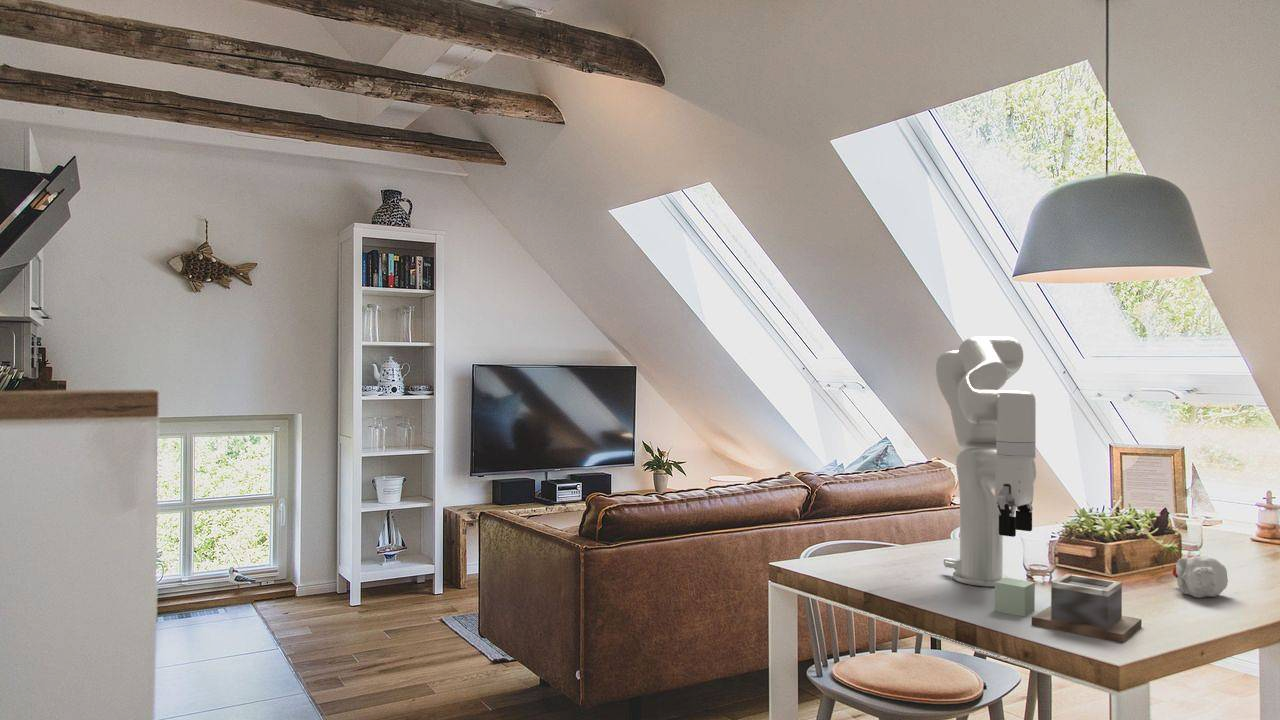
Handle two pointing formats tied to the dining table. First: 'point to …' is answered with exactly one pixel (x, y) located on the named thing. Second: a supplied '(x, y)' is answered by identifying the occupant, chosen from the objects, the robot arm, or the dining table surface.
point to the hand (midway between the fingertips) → (1015, 533)
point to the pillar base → (1089, 630)
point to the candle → (1200, 576)
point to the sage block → (1015, 596)
